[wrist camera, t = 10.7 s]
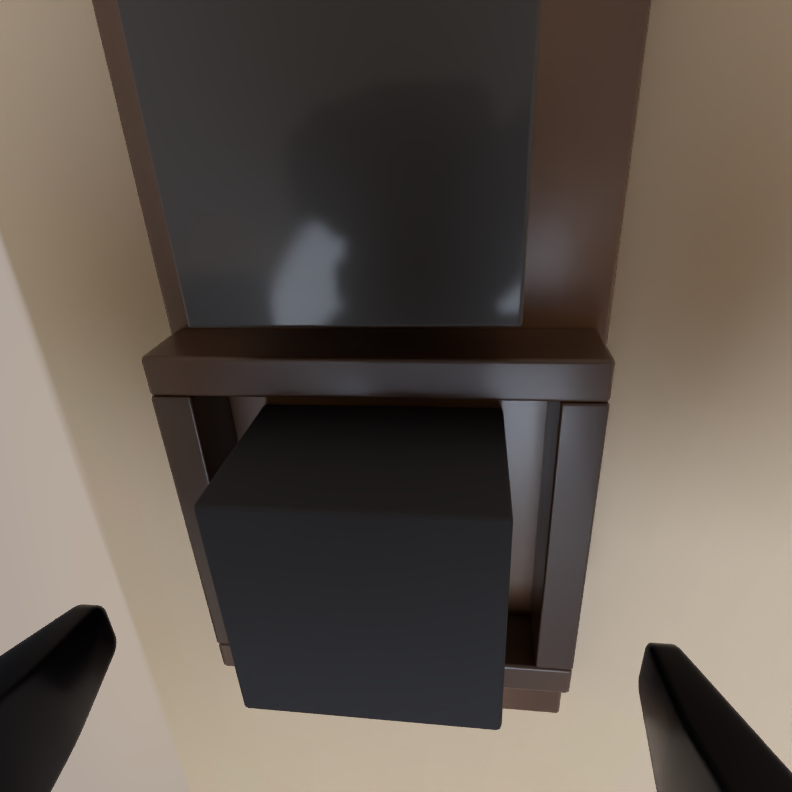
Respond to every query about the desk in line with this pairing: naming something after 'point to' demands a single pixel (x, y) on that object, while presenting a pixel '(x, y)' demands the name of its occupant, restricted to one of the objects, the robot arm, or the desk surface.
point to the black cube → (366, 561)
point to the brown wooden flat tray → (392, 241)
